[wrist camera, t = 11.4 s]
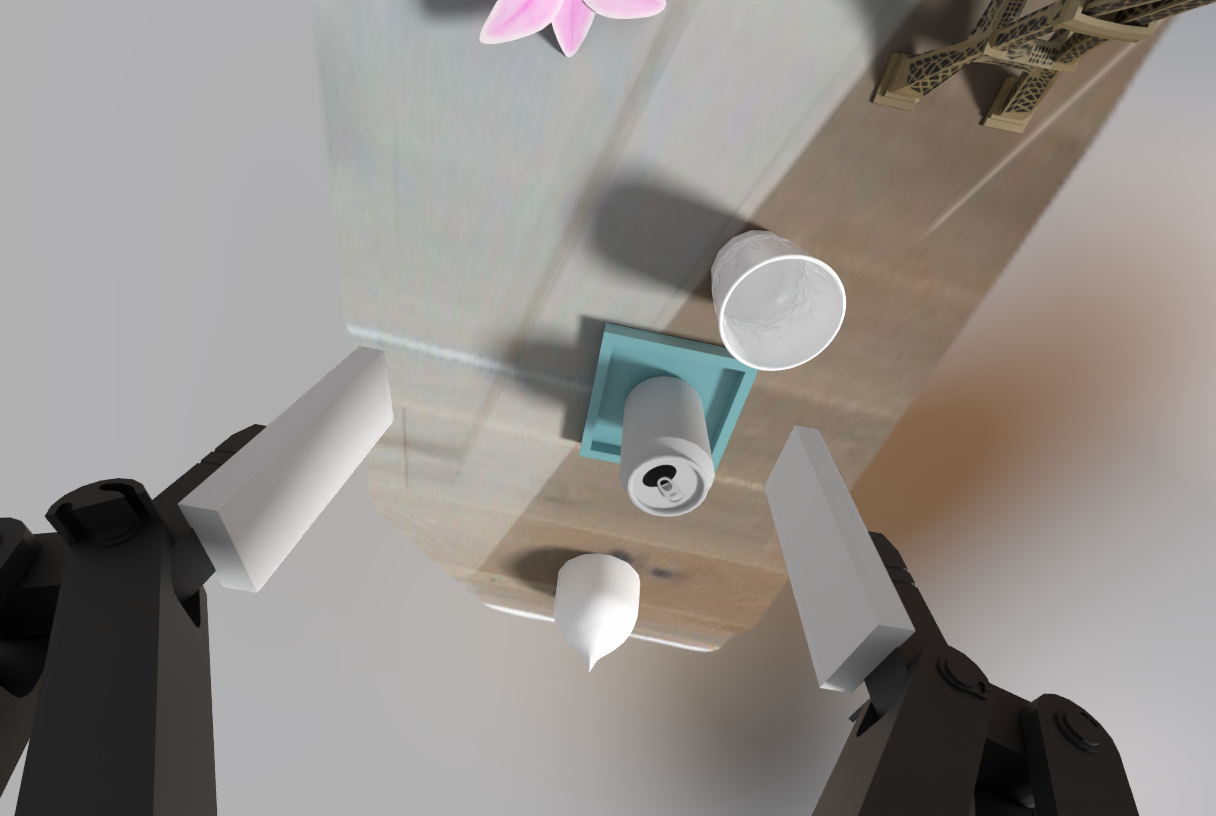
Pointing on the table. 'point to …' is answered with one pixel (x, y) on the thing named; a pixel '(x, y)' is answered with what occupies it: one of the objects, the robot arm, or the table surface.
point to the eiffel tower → (1025, 51)
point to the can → (665, 447)
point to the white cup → (774, 301)
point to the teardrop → (596, 604)
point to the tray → (656, 355)
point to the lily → (559, 18)
